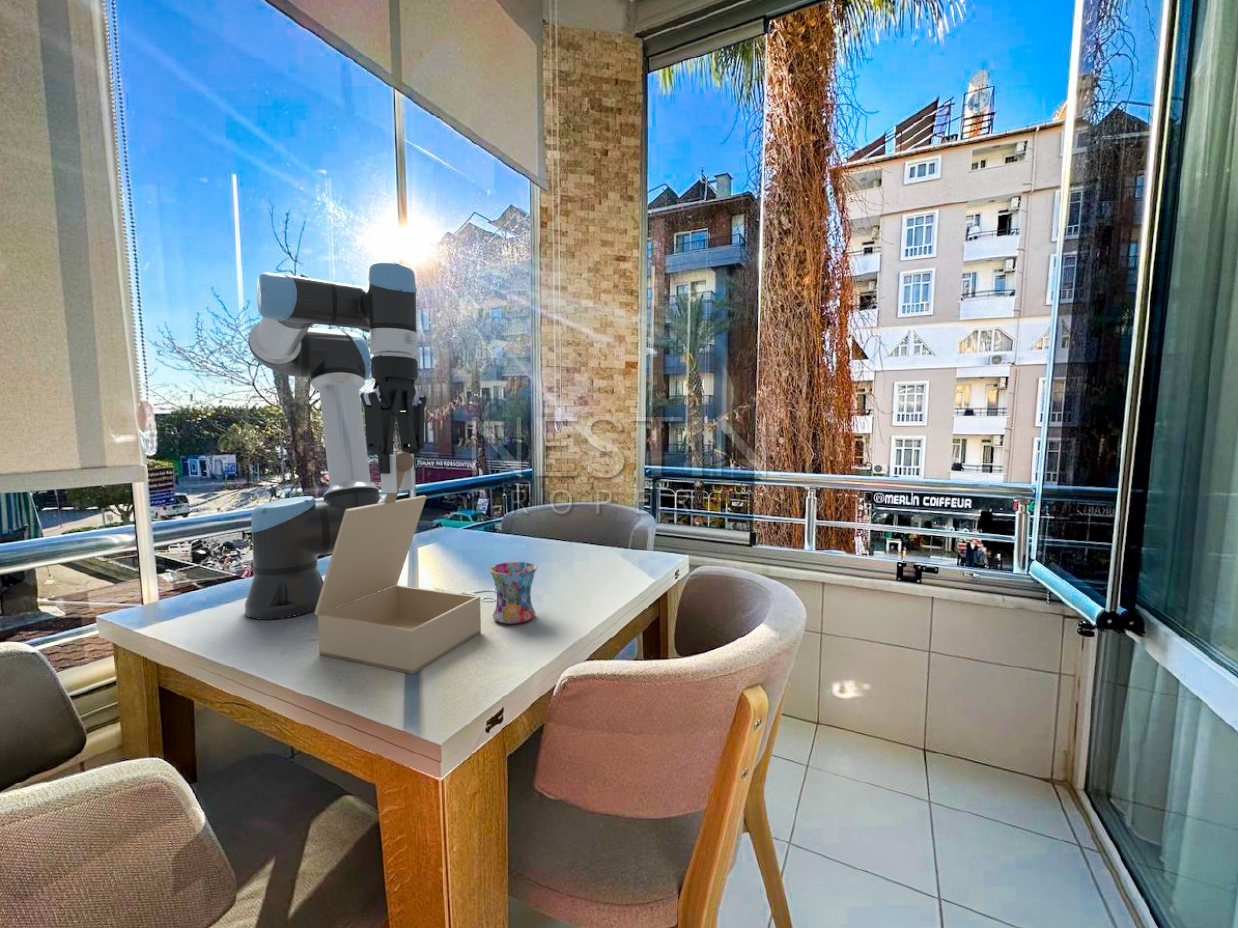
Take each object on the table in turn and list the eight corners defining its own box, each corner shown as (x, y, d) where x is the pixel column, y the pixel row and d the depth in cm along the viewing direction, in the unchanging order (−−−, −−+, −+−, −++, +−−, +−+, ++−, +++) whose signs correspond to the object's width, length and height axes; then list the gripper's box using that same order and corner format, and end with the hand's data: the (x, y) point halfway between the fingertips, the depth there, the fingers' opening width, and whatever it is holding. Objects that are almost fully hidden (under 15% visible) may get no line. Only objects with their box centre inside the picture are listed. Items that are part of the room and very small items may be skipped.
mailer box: (319, 654, 91) (317, 614, 90) (397, 618, 107) (396, 585, 107) (413, 674, 84) (411, 631, 83) (480, 632, 100) (480, 596, 100)
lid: (322, 619, 90) (308, 608, 91) (402, 588, 107) (389, 579, 108) (371, 460, 83) (355, 450, 84) (447, 454, 101) (433, 446, 102)
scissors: (499, 601, 117) (415, 596, 120) (499, 605, 117) (415, 599, 120) (516, 587, 128) (438, 582, 131) (516, 590, 128) (438, 585, 131)
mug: (520, 630, 102) (520, 575, 101) (481, 623, 105) (480, 570, 105) (552, 610, 113) (551, 561, 112) (515, 604, 116) (514, 556, 116)
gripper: (373, 349, 83) (378, 498, 85) (443, 361, 98) (446, 486, 100) (337, 351, 85) (342, 495, 87) (411, 363, 101) (414, 485, 103)
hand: (398, 490), depth 94 cm, fingers closed on lid, 4 cm apart
